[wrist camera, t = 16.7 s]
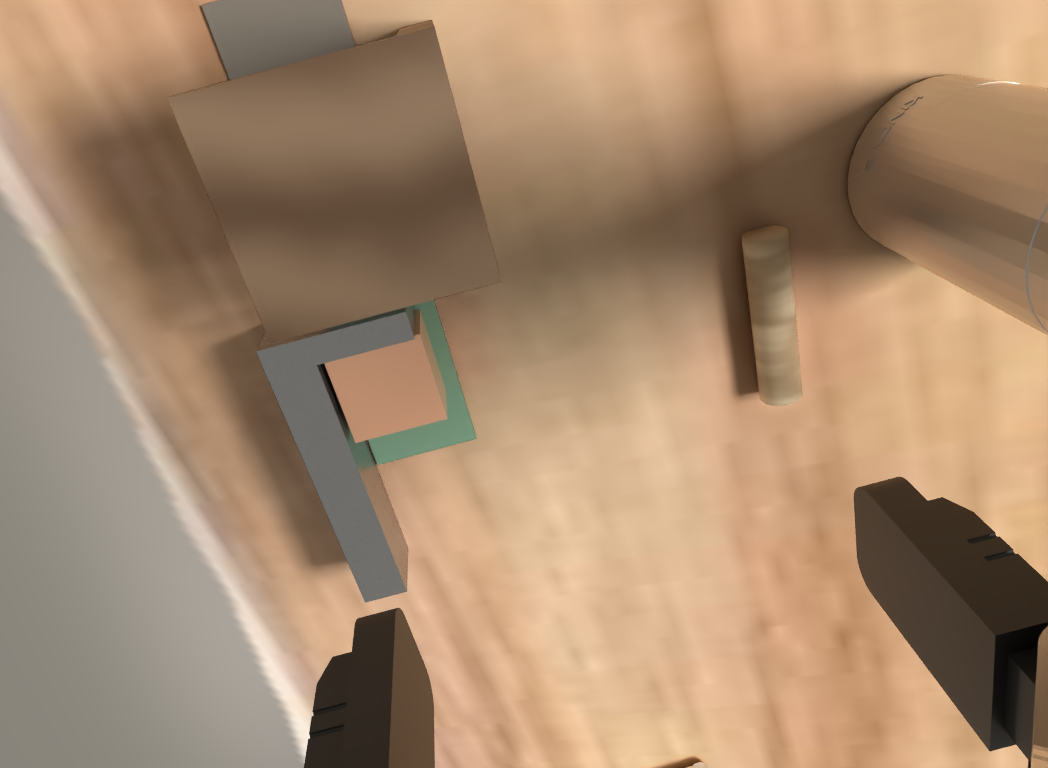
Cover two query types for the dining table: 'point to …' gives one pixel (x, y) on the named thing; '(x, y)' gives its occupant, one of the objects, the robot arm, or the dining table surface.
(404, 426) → the block
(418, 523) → the dining table surface
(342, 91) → the brown wooden box
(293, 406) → the crook
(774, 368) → the dowel
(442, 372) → the green flat plank
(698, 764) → the white segmented tray
